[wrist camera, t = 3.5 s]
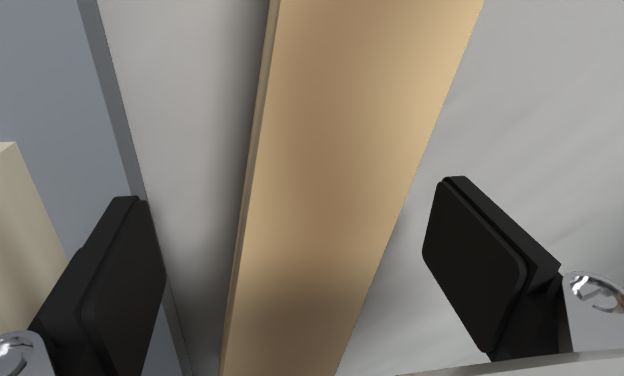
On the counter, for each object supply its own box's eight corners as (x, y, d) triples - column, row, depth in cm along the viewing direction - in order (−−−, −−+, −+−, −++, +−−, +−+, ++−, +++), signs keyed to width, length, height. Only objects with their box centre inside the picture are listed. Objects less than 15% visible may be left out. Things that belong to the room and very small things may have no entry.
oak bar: (452, -152, 9) (577, -233, 6) (298, 351, 18) (310, 436, 15) (299, -212, 8) (335, -352, 5) (220, 351, 17) (212, 442, 14)
